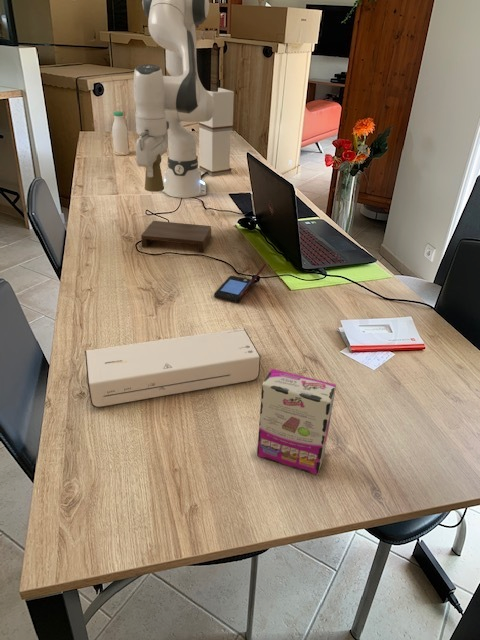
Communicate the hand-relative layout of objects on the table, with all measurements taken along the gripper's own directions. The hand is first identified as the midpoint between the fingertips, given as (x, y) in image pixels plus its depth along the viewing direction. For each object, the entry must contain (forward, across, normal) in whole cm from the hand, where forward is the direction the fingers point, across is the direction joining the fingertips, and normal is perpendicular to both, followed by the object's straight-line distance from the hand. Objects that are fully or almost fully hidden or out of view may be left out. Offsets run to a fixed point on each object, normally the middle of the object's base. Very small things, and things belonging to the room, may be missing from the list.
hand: (153, 174), depth 152 cm
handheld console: (+22, -30, -33) cm, 49 cm away
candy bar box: (+22, -86, -50) cm, 102 cm away
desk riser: (+21, -2, -7) cm, 23 cm away
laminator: (+22, -69, -24) cm, 76 cm away
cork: (+5, 0, 0) cm, 5 cm away
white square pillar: (+21, +81, -4) cm, 84 cm away
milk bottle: (+21, +99, +49) cm, 112 cm away
